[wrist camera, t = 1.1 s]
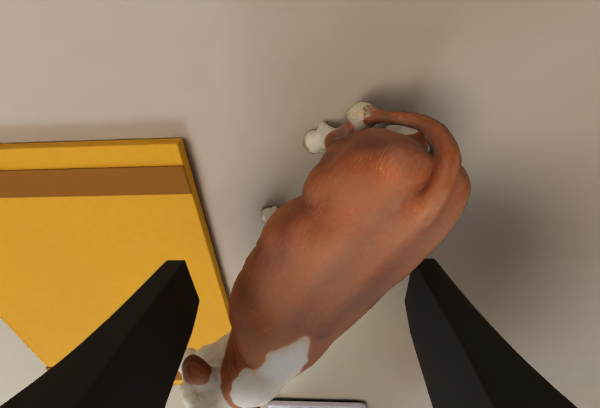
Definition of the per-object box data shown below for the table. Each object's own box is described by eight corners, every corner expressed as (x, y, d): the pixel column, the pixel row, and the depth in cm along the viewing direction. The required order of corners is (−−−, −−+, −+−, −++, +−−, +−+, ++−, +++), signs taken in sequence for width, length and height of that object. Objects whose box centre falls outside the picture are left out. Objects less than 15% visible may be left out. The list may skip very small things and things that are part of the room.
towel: (250, 378, 25) (248, 388, 25) (66, 375, 26) (61, 384, 26) (182, 137, 14) (176, 144, 13) (-141, 148, 15) (-159, 155, 14)
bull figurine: (200, 261, 18) (132, 432, 11) (365, 41, 11) (435, 142, 5) (268, 293, 19) (242, 462, 13) (450, 113, 13) (601, 273, 6)
